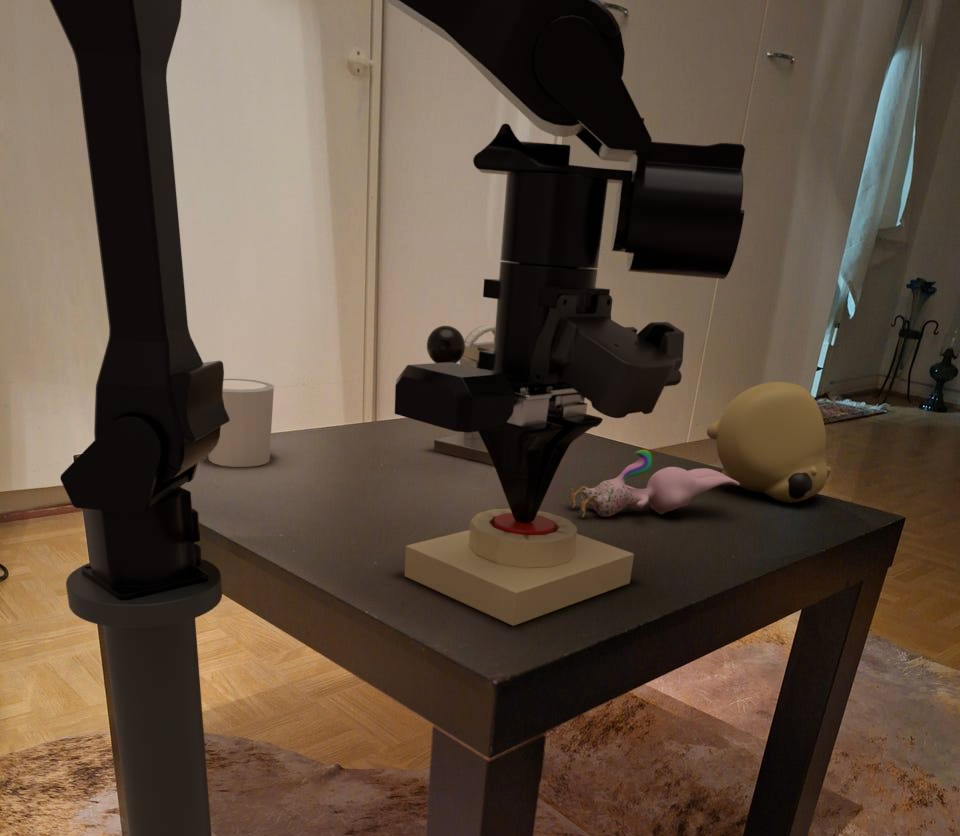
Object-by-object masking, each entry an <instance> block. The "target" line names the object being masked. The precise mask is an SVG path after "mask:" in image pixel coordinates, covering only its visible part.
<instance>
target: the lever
mask: <svg viewBox="0 0 960 836" xmlns="http://www.w3.org/2000/svg"><path fill="white" fill-rule="evenodd" d="M464 340H465V338H464V336H463V334H462V333H461V332H460V331H459V330H458V329H457V328H456V327H453V326H450V325H441V326H438V327H435V328H434V329H433V330H432V331H431V333H429V335H428V337H427V340H426V352H427V354H428V357H429V359H431V360H432V361H433V363H446V362H452V363H456V364H458V363H459V362H460V361H459V360H460V359H461V358H465V359H468V360H471V361H475V362H478V363H479V350H476V349H473V348H470V347H467V346H465V342H464ZM492 350H494V349H489V348H487V351H492ZM484 370H485V369H484ZM488 371H489V370H488ZM493 372H494V371H493Z"/></svg>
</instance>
